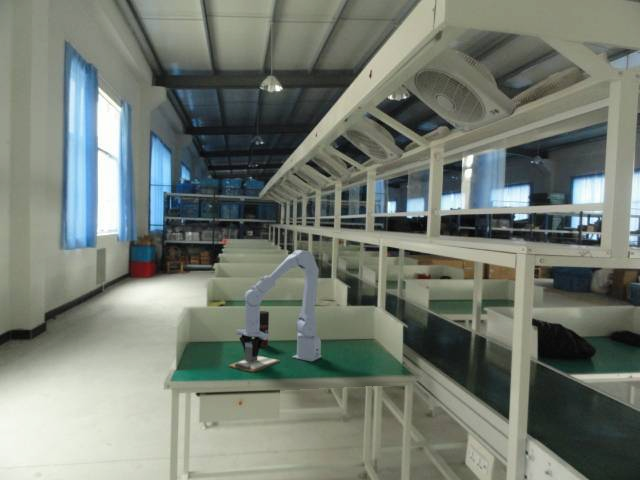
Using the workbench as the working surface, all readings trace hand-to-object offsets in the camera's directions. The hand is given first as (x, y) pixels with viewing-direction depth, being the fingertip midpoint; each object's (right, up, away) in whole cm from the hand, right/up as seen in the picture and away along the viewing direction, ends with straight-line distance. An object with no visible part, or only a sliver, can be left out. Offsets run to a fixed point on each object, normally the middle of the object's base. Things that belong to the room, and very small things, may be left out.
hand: (251, 355), depth 160 cm
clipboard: (+2, -3, -3) cm, 4 cm away
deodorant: (0, -3, +25) cm, 25 cm away
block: (0, -2, 0) cm, 2 cm away
